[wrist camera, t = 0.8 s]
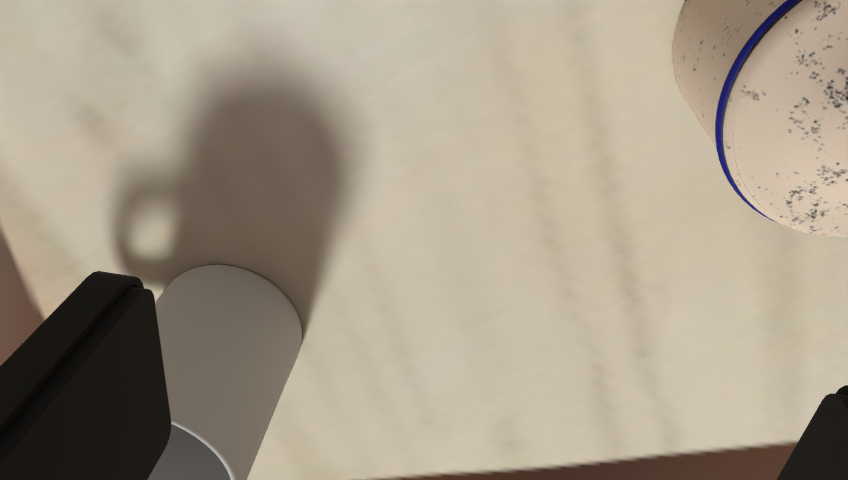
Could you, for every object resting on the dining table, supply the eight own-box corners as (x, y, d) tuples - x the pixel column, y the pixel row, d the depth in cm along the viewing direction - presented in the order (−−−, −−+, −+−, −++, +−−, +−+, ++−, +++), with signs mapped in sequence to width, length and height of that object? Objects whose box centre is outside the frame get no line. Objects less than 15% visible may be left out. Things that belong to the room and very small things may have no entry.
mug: (295, 266, 37) (222, 414, 27) (310, 380, 41) (252, 540, 32) (90, 255, 38) (-47, 393, 29) (127, 367, 42) (19, 518, 33)
